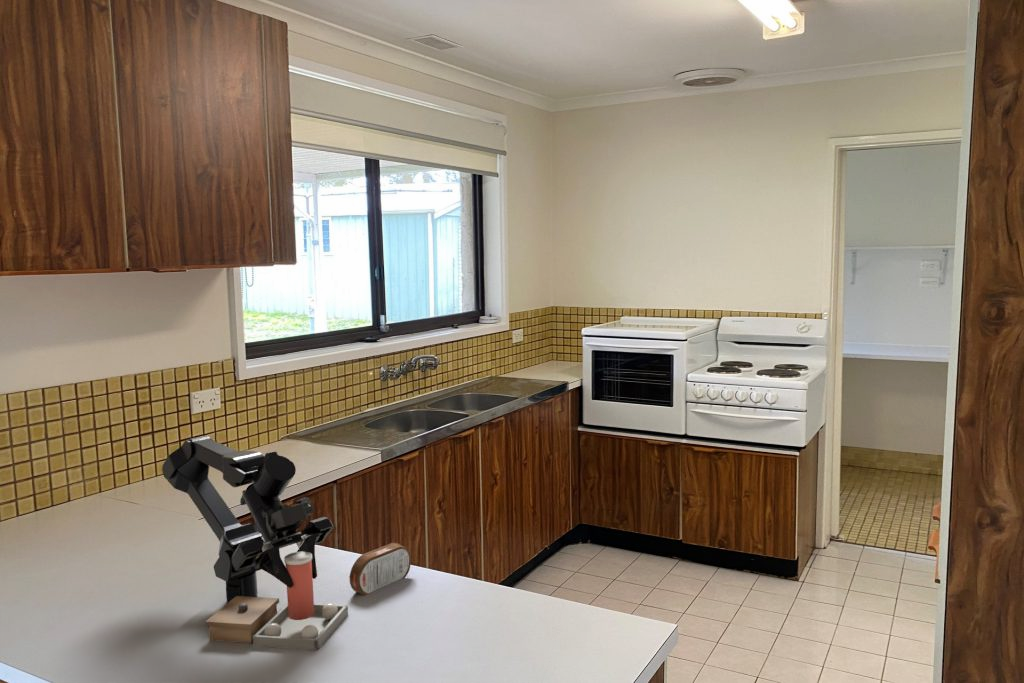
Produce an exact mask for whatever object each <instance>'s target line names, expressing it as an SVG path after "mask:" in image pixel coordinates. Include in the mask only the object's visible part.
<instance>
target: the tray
mask: <svg viewBox="0 0 1024 683" xmlns="http://www.w3.org/2000/svg"><path fill="white" fill-rule="evenodd" d="M326 604H327V603H315V602H314V615H313V616H312V617H310V618H307V619H304V620H292V619H290V618H289V616H288V602H287V603H286V604H285V605H284V606H283V607H282V608H281V609H280V610H279V611H277V614H276V615H275V616H274V617H273V618H272V619H271V620H270V621H269V622H267V623H266V624H265V625H264V626H263V627H262V628H261V629H260V630H259V631H258V632H257V633H256V634H255V635H254V636H253V642H252V643H253V644H252V645H253V647H264V648H278V649H291V650H292V649H293V650H294V649H295V650H309V651H310V650H311V651H318V650H319V649H320V648H321V647H322V646H323V644H324V643H325V642H326V641H327V639H328V638H330V636H331V635H332V634H333V633H334V631H335V630H336V629H337V628H338V627H339V625H340V624H341V623H342V622H343V621H344V619H345V618H346V617H347V616H348V615H349V610H348V608H349V607H348V604H335V605H336V606H337V608H338V613H337V614H336V615H335V617H334V618H333V619H332V620H327V619H325V618H324V617H323V615H322V609H323V607H324V606H325V605H326ZM270 623H277V624H279V625H280V627H281V630H282V632H281V635H280V636H265V635H264V630H265V628H266V626H267V625H268V624H270ZM308 625H313V626H315V627H316V628H317V630H318V636H317V637H316V638H315V639H311V638H301V631H302V629H303V628H304V627H305V626H308Z"/></svg>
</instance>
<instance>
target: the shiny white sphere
mask: <svg viewBox="0 0 1024 683" xmlns="http://www.w3.org/2000/svg"><path fill="white" fill-rule="evenodd" d="M281 632H282V630H281V627H280V625H279V624H277V623H270V624H268V625H267V626H266V628H265V630H264V635H265V636H280V635H281Z"/></svg>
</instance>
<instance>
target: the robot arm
mask: <svg viewBox="0 0 1024 683" xmlns="http://www.w3.org/2000/svg"><path fill="white" fill-rule="evenodd" d="M210 467H211V468H213V469H215V470H216V471H219V472H220V473H222V479H223V480H224V481H225V482H226V483H227V484H228V485H230V486H231V487H232V488H238V487H243V486H246V485H248V486H247V487H246V489H244V490H242V495H241V498H240V505H241V506H247V508H248V510H249V512H250V514H251V516H252V519H253V520H254V522H255V523H254V524H253V523H252V522H250V523H246V524H241V523H240V521H239V520H238V519H237V517H236V516H235V514H234V513H233V511H231V509H230V508H229V506H228V505H227V503H226V501H225V500H224V499H223V497H222V496H221V495H220V493H219V492H218V490H217V489H216V487H215V486H214V485H213V483H212V481H211V480H210V478H209V472H210ZM161 471H162V472H161V473H162V475H163V477H164V479H166V480H167V482H168V483H169V484H170V485H171V486H172V488H173V489H175V490H177V491H181V492H183V493H185V494H188V497H189V498H190V499H191V500H192V502H193V503H194V505H195V506H196V508H197V510H198V511H199V512H200V514H201V515H202V517H203V518H204V520H205V521H206V523H207V525H208V526H209V527H210V529H211V531H212V532H213V533H214V535H215V536H216V538H217V540H218V541H219V546H218V547H219V548H218V558H217V560H216V561H215V563H214V564H213V570H214V575H215V577H216V578H217V579H218V578H219V579H221V580H223V581H225V596H226V597H225V598H226V604H227V603H228V602H230V601H231V600H232V599H233V598H235V597H236V596H246V597H258V593H259V592H258V581H257V580H258V579H257V572H258V571H261V570H262V571H264V572H266V573H268V574H270V575H271V576H272V577H274V578H275V579H277V580H278V581H279V582H281V583H282V584H284V585H285V586H286V587H287V586H288V587H289V588H291V587H292V586H293V581H292V579H291V576H290V575H289V573H288V571H287V569H286V564H285V562H283V560H282V558H281V553H280V552H281V550H280V549H282V548H286V547H288V546H292V545H294V544H296V546H297V547H298V549H297V551H296V552H309V553H311V554H312V577H313V580H315V579H317V577H318V573H317V572H318V571H317V570H318V568H317V563H316V562H317V560H316V555H315V552H316V549H315V548H316V545H318V544H320V543H322V542H324V541H325V540H326V538H327V537H328V535H330V533H331V532H332V530H333V529H334V527H335V526H334V525H333V522H332V520H331V519H330V518H328V517H327V516H322V517H319V518H316V519H313V520H309V517H308V516H310V515H312V514H314V510H315V509H314V506H313V503H312V501H311V500H310V498H309V497H303V498H300V499H298V500H296V501H295V503H296V504H294V505H291V506H290V505H289V504H287V503H285V504H283V502H282V500H281V499H280V496H281V495H283V493H284V492H285V491H286V489H287V487H288V486H289V484H290V483H291V481H292V479H293V478H294V476H296V473H297V472H296V465H295V463H294V462H293V461H291V459H289V458H287V457H286V456H283V455H279V454H278V452H277V450H273V451H268V452H266V453H265V454H262V453H261V452H260V451H253V450H242V451H241V450H235V449H233V448H231V447H229V446H227V445H224V444H222V443H220V442H218V441H215V440H214V439H212V437H210V436H207V435H202V436H197V437H196V436H195V437H192V438H188V439H186V440H185V441H183V443H182V444H181V446H180V447H178V448H177V449H175V450H174V451H173V452H171V453H169V454H168V456H167V458H166V459H165V461H164V462H163V464H162V467H161ZM308 520H309V521H308ZM302 521H303V522H305V521H308V523H307V524H306V526H305V527H304V528H303V529H302V530H299V531H298V530H297V529H300V528H301V525H302V524H301V522H302Z"/></svg>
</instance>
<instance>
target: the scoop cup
mask: <svg viewBox="0 0 1024 683" xmlns="http://www.w3.org/2000/svg"><path fill="white" fill-rule="evenodd" d="M283 559H284V562H283V563H284V565H285V567H286V569H287V571H288V573H289V575H290V576H291V579H292V581H293V586H292V587H291V588H289V587H288V586H286V596H287V597H286V598H287V599H286V600H287V603H288V616H289V618H290V619H292V620H304V619H307V618H310V617H312V616H313V615H314V603H315V600H314V598H315V597H314V596H315V595H314V579H313V577H312V554H311V553H309V552H297V551H295V552H290V553H288V554H287V555H285V556H284V558H283Z"/></svg>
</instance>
